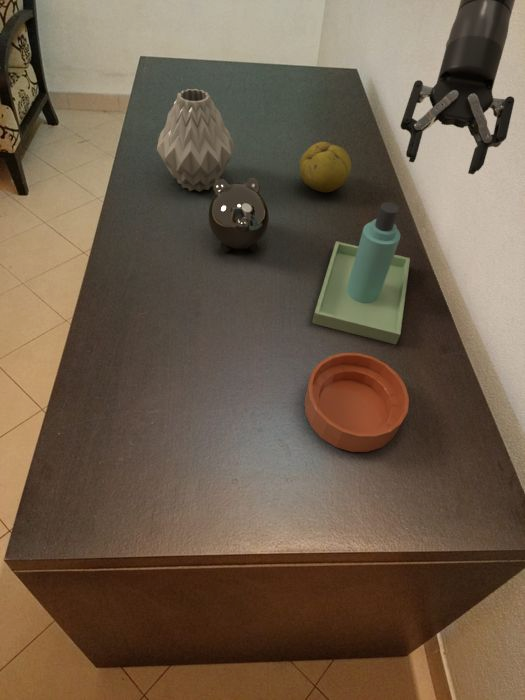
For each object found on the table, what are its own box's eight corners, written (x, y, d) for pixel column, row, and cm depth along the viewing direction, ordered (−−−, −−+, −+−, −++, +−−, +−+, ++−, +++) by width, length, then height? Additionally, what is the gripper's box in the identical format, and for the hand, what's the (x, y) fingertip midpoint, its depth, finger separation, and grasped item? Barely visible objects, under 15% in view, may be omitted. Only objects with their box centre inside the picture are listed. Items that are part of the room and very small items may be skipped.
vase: (177, 157, 111) (170, 72, 97) (242, 171, 109) (246, 87, 95) (148, 193, 101) (136, 104, 87) (219, 209, 99) (219, 121, 85)
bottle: (381, 284, 87) (410, 201, 73) (377, 306, 83) (407, 222, 69) (349, 277, 87) (373, 193, 74) (344, 298, 84) (367, 214, 70)
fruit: (343, 176, 111) (352, 135, 103) (347, 205, 103) (357, 162, 96) (296, 173, 110) (302, 131, 103) (297, 201, 103) (303, 158, 95)
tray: (406, 268, 91) (410, 258, 89) (395, 344, 78) (400, 334, 76) (333, 251, 93) (336, 241, 91) (312, 323, 80) (314, 312, 78)
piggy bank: (259, 217, 98) (263, 166, 89) (271, 264, 89) (276, 212, 80) (206, 219, 97) (204, 167, 88) (212, 267, 87) (211, 215, 78)
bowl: (402, 386, 73) (412, 366, 69) (393, 466, 64) (404, 448, 60) (314, 363, 75) (319, 342, 71) (294, 437, 66) (298, 419, 62)
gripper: (428, 25, 63) (395, 147, 64) (538, 42, 61) (502, 168, 62) (417, 56, 70) (389, 165, 72) (516, 72, 68) (484, 184, 70)
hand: (442, 166), depth 67 cm, fingers open, 8 cm apart
